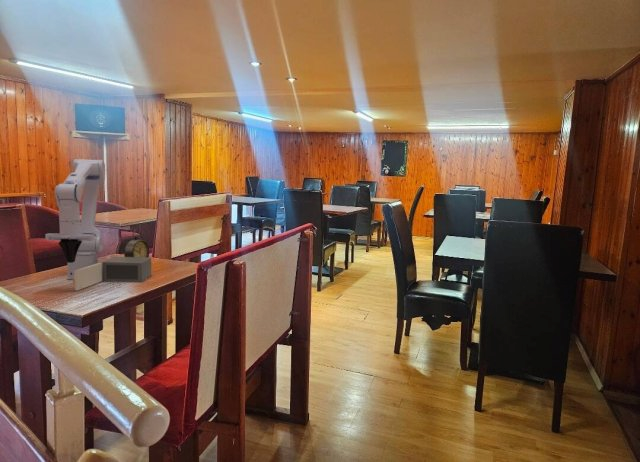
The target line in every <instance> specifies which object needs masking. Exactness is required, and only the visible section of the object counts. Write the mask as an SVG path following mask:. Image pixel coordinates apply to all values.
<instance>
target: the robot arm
mask: <svg viewBox="0 0 640 462" xmlns="http://www.w3.org/2000/svg"><path fill="white" fill-rule="evenodd" d="M105 177H106V164H105V161H104V160H103V159H83V158H75V159H74V160H73V161H72V172H71V173H69V174H68V175H67V177H66V178H65V179H64V181H63V183H59V184H58V185H56V186H55V190H54V197H55V200H56V206H57V208H58V218H59V219H58V220H59V232H58V233H57V232H56V233H54V232H53V233H51V232H50V233H45V236H44V237H45V240H46V241H49V240H50V241H51V240H53V241H59V242H58V245H59V247H60V248H61V249H62V251H63V253H64V255H65V258H66V265H67V277H66V279H67V280H72V279H73V278H74V271H75V270H78V269H81V268H85V267H88V266H91V265H94V264H97V263H99V253H101V252H102V250H103V242H104V240H103V234H102V232H101V230H99V229H98V228H97V227H96V218H97V217H96V215H97V206H98V205H97V204H98V195H99V188H100V186H101V185H103V184H105V179H106V178H105ZM82 195H83V196H82ZM81 201H82V205H81V211H80V202H81ZM80 212H81V213H80Z"/></svg>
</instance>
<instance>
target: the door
mask: <svg viewBox="0 0 640 462" xmlns="http://www.w3.org/2000/svg"><path fill="white" fill-rule="evenodd" d="M71 280H72V282H74V291H79V290H82V289H85V288H88V287H90V286H93V285H96V284H99V283H100V282H104V281H103V265H102V262H98V263H97V264H94V265H91V266H88V267H85V268H81V269H78V270H75V271H74V278H73V279H71Z"/></svg>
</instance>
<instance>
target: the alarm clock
mask: <svg viewBox="0 0 640 462" xmlns="http://www.w3.org/2000/svg"><path fill="white" fill-rule="evenodd" d="M135 232H137V234H136V235H135ZM132 234H133V237H134V239H131V240H130V241H129V242H127V244H126V245H125V247H124V253H123V255H124V256H123V257H145V258H150V247H149V245H148V243H147V241H146V240H144V239H138V236H139V230H138V229H134V230H133V233H132Z"/></svg>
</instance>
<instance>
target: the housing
mask: <svg viewBox="0 0 640 462" xmlns="http://www.w3.org/2000/svg"><path fill="white" fill-rule="evenodd" d="M101 263H102V265H103V281H102V282H121V283H122V282H123V283H124V282H126V283H127V282H128V283H143V282H145V280H147V279H148V278H151V276H152V257H149V258H145V257H125V256H111V257H110V258H108V259H105V260H103V261H101Z"/></svg>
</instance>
